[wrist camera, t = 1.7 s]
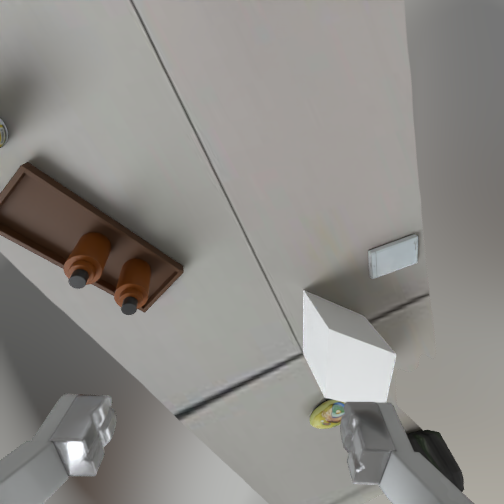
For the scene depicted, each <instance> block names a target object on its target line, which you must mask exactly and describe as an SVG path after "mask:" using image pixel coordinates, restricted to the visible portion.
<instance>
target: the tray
mask: <svg viewBox="0 0 504 504" xmlns="http://www.w3.org/2000/svg"><path fill="white" fill-rule="evenodd" d="M91 232H95V233H100V234H102V235H104V236H105V237H107V238H108V239H109V241H110V243H111V251H110V254H109V256H108V259H107V262H106V264H105V267H104V270H103V272H102V275H101V277H100V278H99V280H97V281H96V282H94V283H92V284H93V285H94V286H96V287H98V288H100V289H102V290H104V291H106V292H107V293H109V294H111V295H113V296H114V294H115V290H116V287H117V283H118V280H119V276H120V273H121V269H122V266H123V264H124V263H125V262H127V261H128V260H131V259H141V260H144V261H145V262H147V263H148V264H149V266H150V268H151V276H150V285H149V293H148V300H147V302H146V303H145V305H143V306H142V307H140V308H138V309H139V310H141V311H143V312H146V311H147V310H148V309H149V308H150V307H151V306H152V304H153V303H154V302H155V301H156V300H157V299H158V298H159V297H160V296H161V295H162V294H163V293H164V292H165V291H166V290H167V289H168V288H169V287H170V286H171V285H172V284H173V283H174V282H175V281H176V280H177V278H178V277H179V276H180V275H181V274H182V273H183V266H182V265H181V264H179V263H178V262H176V261H175V260H173V259H172V258H170V257H169V256H167V255H166V254H164V253H163V252H161V251H160V250H158V249H157V248H155V247H154V246H152V245H151V244H149V243H148V242H146V241H145V240H143V239H142V238H140V237H139V236H137V235H136V234H134V233H133V232H131V231H130V230H128V229H127V228H125V227H124V226H122V225H121V224H120V223H118V222H117V221H115V220H114V219H112V218H111V217H109V216H108V215H106V214H105V213H103V212H102V211H100V210H99V209H97V208H96V207H94V206H93V205H91V204H90V203H88V202H87V201H85V200H84V199H82V198H81V197H79V196H78V195H76V194H75V193H73V192H72V191H70V190H69V189H67V188H66V187H64V186H63V185H61V184H60V183H58V182H57V181H55V180H54V179H53V178H51V177H50V176H48V175H47V174H45V173H44V172H42V171H41V170H39V169H38V168H36V167H35V166H33V165H32V164H30V163H29V162H27V163H25V164H23V165H21V166H20V168H19V169H18V170H17V172H16V173H15V174H14V176H13V177H12V178H11V180H10V181H9V183H8V184H7V185H6V187H5V188H4V189H3V191H2V192H1V193H0V235H1V236H3V237H5V238H7V239H9V240H11V241H13V242H14V243H16V244H18V245H20V246H22V247H24V248H26V249H27V250H29V251H31V252H33V253H35V254H37V255H39V256H40V257H42V258H44V259H46V260H48V261H50V262H52V263H54V264H55V265H57V266H59V267H61V268H63V269H64V264H65V262H66V261H67V259H68V257H69V256H70V254H71V253H72V251H73V249H74V248H75V246H76V244H77V243H78V241H79V240H80V238H81V237H82V236H83V235H85V234H87V233H91Z"/></svg>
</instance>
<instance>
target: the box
mask: <svg viewBox="0 0 504 504" xmlns="http://www.w3.org/2000/svg"><path fill="white" fill-rule="evenodd" d="M303 354H304V357H305V359H306V361H307V363H308V365H309V367H310V369H311V371H312V373H313V375H314V377H315V379H316V381H317V383H318V385H319V387H320V389H321V391H322V393H323V395H324V397H325V398H329V399H333V400H337V401H341V402H345V403H346V402H386V400H387V396H388V391H389V387H390V382H391V378H392V373H393V369H394V364H395V360H396V355H397V354H396V353H395V352H394V351H393V349H392V348H391V347H390V346H389V345H388V344H387V342H386V341H385V340H384V339H383V338H382V336H381V335H380V334H379V333H378V332H377V331H376V329H375V328H374V327H373V326H372V325H371V323H370V322H369V321H368V320H367V319H366V318H365V316H363V315H361V314H359V313H356V312H354V311H352V310H349V309H347V308H345V307H342V306H340V305H338V304H335V303H333V302H331V301H328V300H326V299H324V298H321V297H319V296H317V295H315V294H312V293H310V292H308V291H305V290H303Z"/></svg>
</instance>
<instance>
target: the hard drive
mask: <svg viewBox="0 0 504 504" xmlns="http://www.w3.org/2000/svg"><path fill="white" fill-rule="evenodd" d="M368 259H369V275H370V277H371V278H372V279H374V278H377V277H380V276H383V275H386V274H388V273H391V272H394V271H397V270H399V269H402V268H405V267H408V266H410V265H413V264H416V263H417V261H418V236H417V235H415V234H413V235H411V236H408V237H405V238H402V239H399V240H397V241H394V242H391V243H388V244H386V245H383V246H380V247H377V248H375V249H372V250H369V251H368Z"/></svg>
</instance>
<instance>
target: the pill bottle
mask: <svg viewBox="0 0 504 504" xmlns="http://www.w3.org/2000/svg"><path fill="white" fill-rule="evenodd" d="M7 139H8V131H7V128H6V125H5V124H4V122H3V121H2V119H1V118H0V148H1V147H3V146H4V145H5V143H6V142H7Z"/></svg>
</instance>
